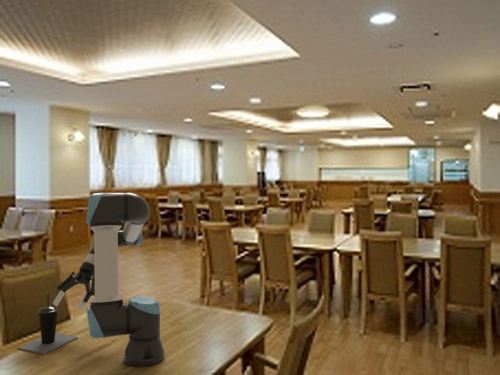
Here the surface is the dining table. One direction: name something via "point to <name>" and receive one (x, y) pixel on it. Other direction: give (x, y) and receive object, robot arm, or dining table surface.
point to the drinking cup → (48, 323)
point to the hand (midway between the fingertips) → (66, 306)
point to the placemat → (46, 348)
